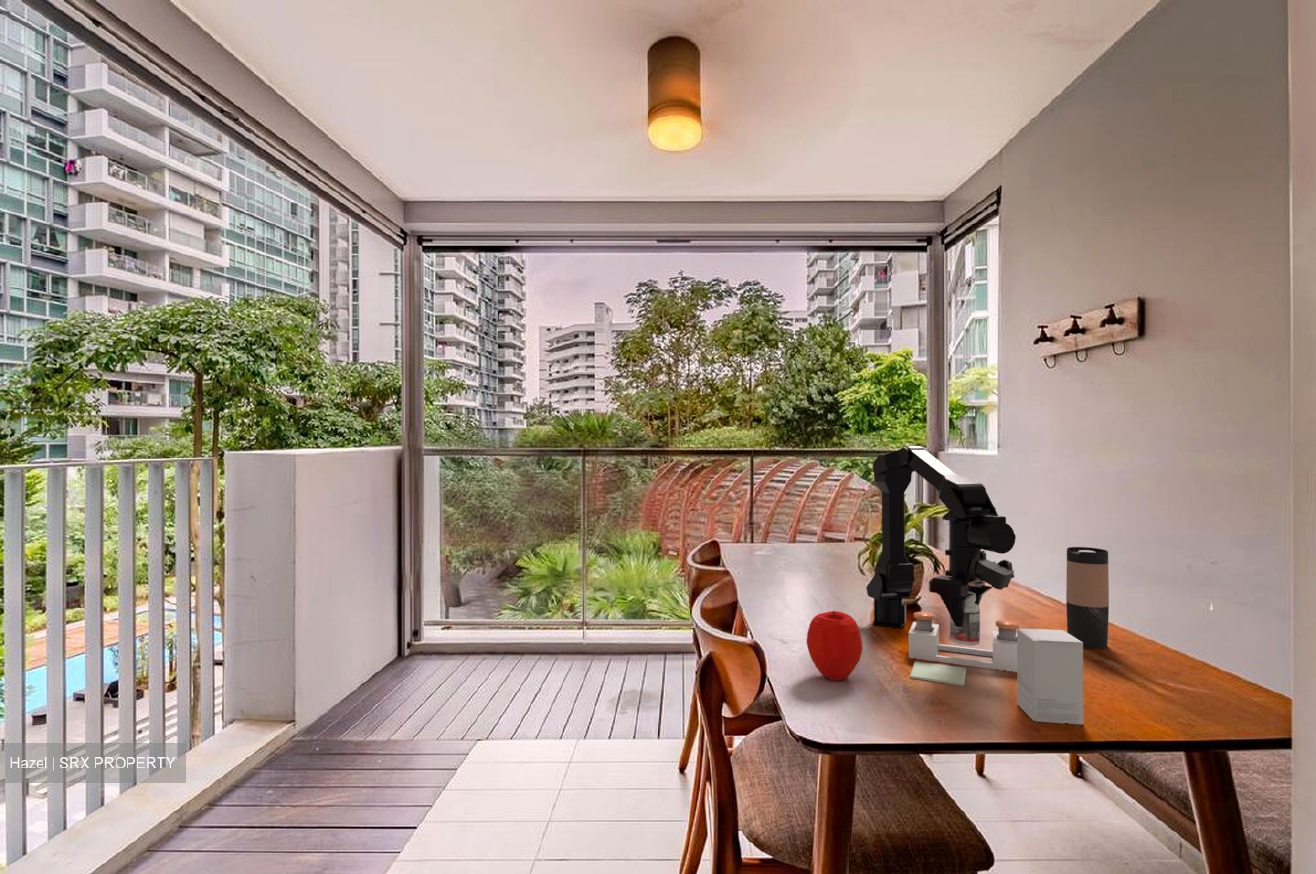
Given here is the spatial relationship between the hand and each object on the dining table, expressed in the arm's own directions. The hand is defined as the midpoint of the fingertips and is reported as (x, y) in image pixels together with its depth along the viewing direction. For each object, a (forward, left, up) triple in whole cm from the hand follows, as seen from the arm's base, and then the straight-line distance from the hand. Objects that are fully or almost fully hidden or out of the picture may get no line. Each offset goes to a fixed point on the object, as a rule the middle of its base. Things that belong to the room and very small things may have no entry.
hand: (964, 624), depth 135 cm
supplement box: (+13, -24, -7) cm, 28 cm away
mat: (-4, -12, -7) cm, 14 cm away
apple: (-21, -22, -7) cm, 31 cm away
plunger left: (-7, 0, -4) cm, 9 cm away
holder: (0, 0, -7) cm, 7 cm away
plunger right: (+7, 0, -4) cm, 8 cm away
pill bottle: (0, 0, -4) cm, 4 cm away
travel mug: (+23, +22, -7) cm, 33 cm away
